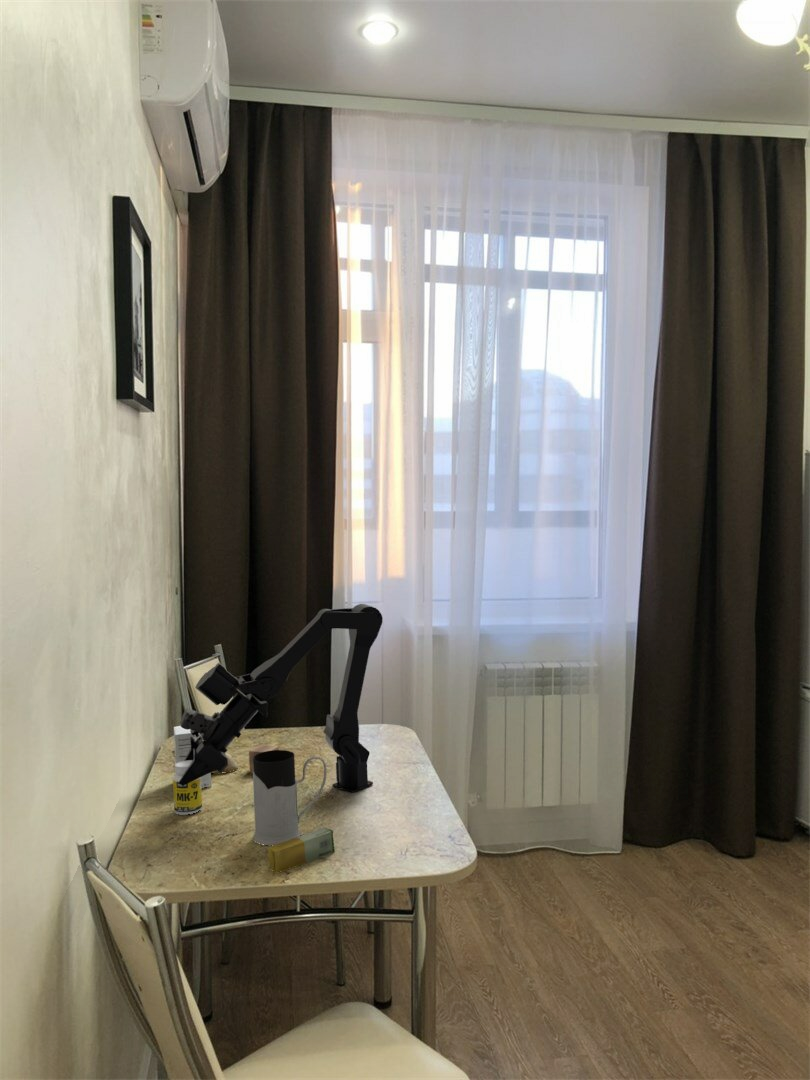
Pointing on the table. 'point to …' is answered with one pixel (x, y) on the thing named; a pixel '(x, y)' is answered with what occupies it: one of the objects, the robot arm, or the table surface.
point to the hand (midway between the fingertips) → (179, 779)
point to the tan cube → (259, 750)
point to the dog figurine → (229, 765)
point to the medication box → (301, 850)
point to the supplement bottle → (186, 791)
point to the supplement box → (186, 750)
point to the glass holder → (277, 796)
